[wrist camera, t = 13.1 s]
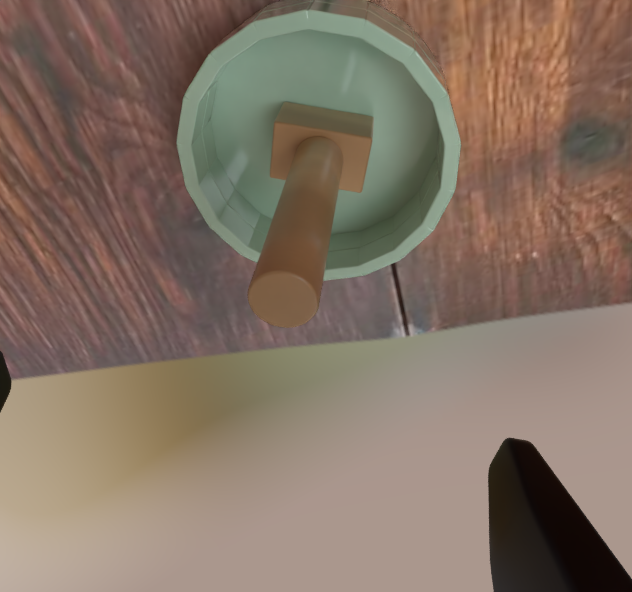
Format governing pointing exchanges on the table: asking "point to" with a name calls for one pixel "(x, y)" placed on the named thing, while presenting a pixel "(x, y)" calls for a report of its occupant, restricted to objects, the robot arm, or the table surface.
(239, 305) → the table surface
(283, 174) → the stirring stick
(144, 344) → the table surface
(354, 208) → the bowl
